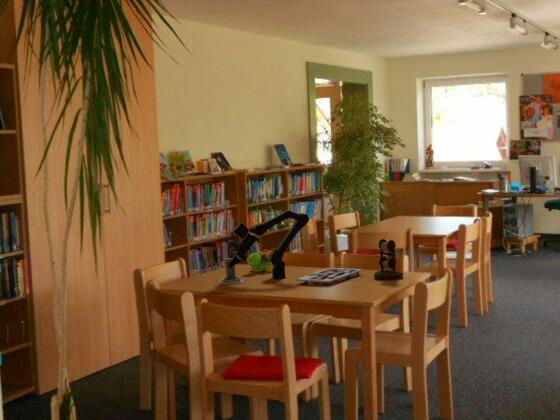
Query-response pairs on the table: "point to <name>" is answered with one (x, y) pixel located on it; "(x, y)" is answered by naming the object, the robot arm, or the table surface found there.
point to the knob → (230, 270)
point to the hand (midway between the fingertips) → (227, 266)
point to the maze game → (330, 276)
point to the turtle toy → (260, 261)
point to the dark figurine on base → (387, 260)
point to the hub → (231, 281)
